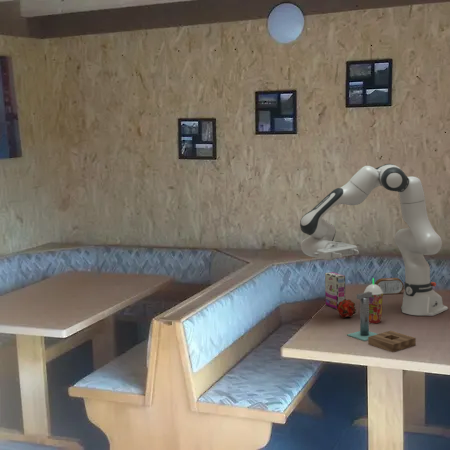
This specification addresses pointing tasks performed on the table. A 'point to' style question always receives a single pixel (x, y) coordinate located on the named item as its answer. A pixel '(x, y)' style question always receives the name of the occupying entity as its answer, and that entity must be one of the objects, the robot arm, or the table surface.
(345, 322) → the table surface
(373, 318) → the smoothie
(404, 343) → the walnut key-slot block
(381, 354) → the table surface
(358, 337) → the teal rubber mat
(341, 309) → the dragon fruit
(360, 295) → the gunmetal T-key
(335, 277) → the candy bar box
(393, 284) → the digital desk clock
